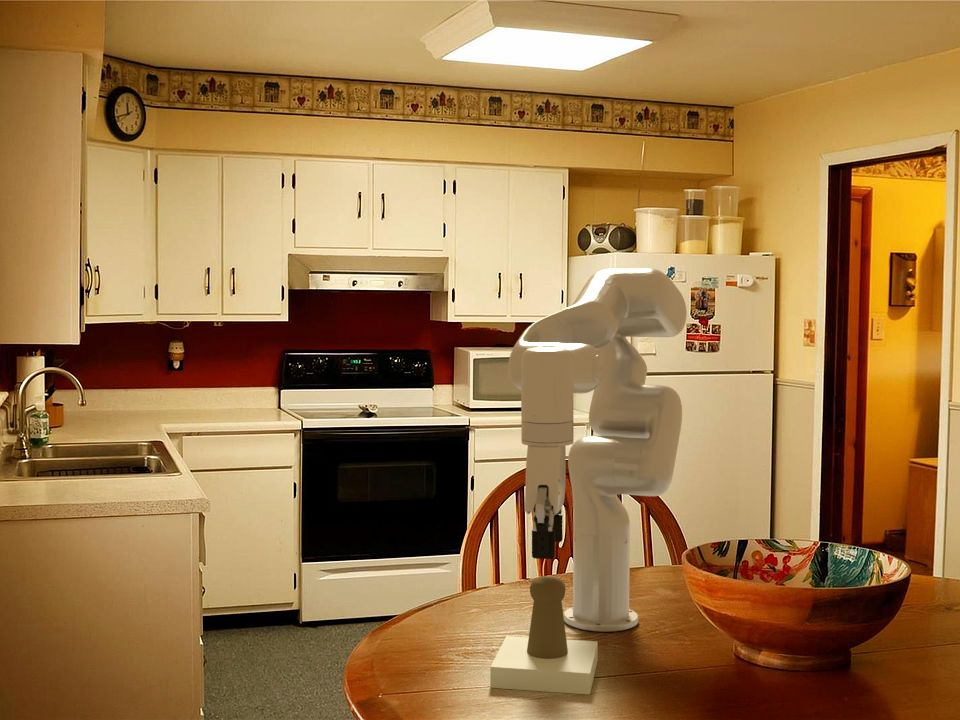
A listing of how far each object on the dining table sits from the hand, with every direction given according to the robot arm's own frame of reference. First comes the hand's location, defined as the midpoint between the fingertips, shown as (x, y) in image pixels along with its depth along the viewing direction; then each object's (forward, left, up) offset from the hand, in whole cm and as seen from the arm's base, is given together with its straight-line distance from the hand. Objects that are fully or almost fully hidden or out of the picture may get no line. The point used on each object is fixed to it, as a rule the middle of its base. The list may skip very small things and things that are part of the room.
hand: (547, 549), depth 155 cm
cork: (0, 0, -16) cm, 16 cm away
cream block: (0, 0, -18) cm, 18 cm away
